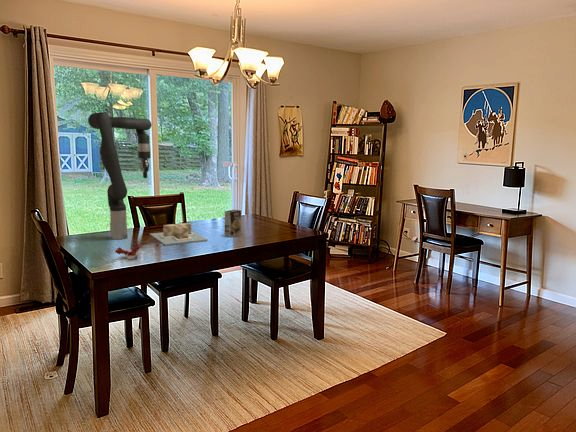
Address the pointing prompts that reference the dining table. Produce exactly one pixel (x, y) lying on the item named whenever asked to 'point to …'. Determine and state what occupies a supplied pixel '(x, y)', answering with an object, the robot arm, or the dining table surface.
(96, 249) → the dining table surface
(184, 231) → the t block
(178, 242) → the board
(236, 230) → the coffee box
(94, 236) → the dining table surface
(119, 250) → the figurine
